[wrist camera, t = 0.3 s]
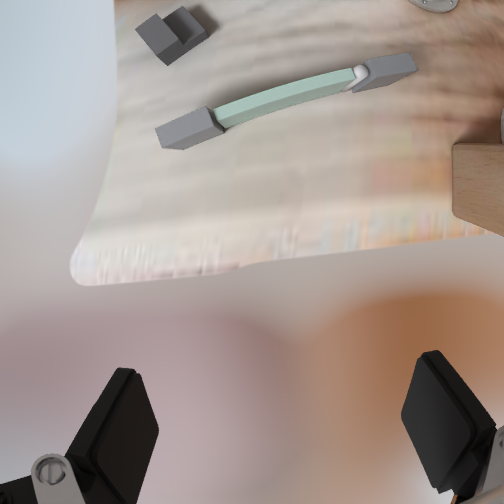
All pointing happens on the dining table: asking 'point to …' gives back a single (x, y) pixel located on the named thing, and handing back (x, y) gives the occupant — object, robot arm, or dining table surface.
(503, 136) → the candlestick
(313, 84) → the door
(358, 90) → the door frame
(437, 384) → the robot arm
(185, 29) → the dark grey stepped block
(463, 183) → the wooden block
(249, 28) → the dining table surface
